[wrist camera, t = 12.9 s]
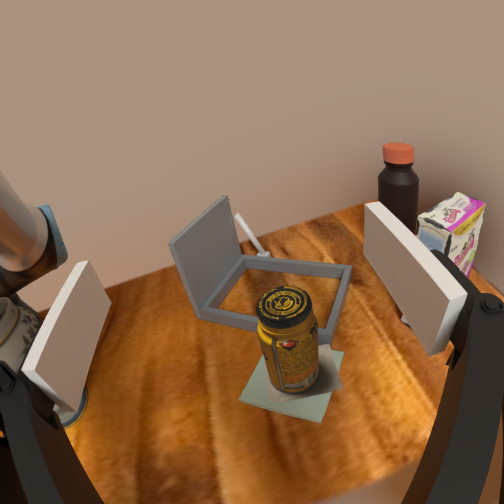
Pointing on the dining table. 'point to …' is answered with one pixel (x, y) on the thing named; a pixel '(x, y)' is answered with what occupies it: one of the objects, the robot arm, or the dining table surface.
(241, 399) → the pad
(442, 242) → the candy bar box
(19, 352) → the apothecary jar
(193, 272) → the grey holder frame
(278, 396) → the condiment
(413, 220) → the bottle
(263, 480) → the dining table surface
